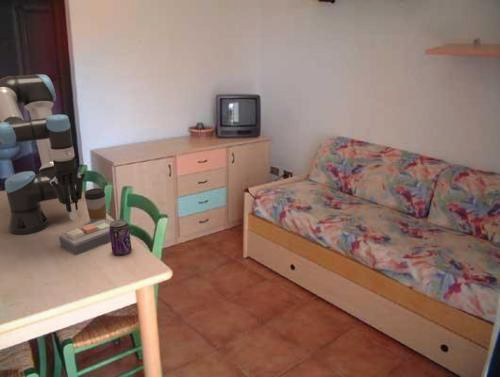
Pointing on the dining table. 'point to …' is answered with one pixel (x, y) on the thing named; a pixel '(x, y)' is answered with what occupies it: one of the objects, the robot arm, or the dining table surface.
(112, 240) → the beverage can
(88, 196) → the coffee cup
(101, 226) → the key sage
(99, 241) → the keypad
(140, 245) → the dining table surface
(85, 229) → the key terracotta
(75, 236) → the key cream
